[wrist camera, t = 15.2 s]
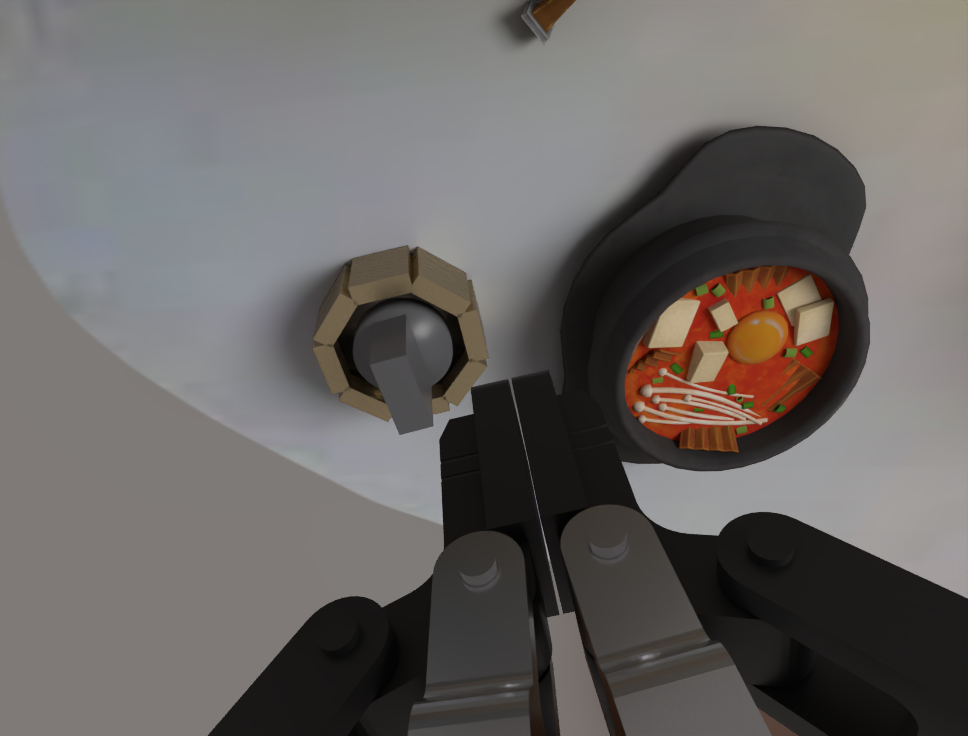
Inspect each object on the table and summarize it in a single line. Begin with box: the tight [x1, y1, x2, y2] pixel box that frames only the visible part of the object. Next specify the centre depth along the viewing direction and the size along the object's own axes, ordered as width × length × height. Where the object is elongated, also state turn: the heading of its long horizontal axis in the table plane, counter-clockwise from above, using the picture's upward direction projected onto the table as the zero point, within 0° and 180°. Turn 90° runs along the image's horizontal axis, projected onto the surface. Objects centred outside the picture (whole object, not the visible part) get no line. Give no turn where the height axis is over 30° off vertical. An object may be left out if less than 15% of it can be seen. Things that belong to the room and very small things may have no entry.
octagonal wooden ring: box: [313, 245, 489, 422], centre depth 42 cm, size 10×10×4 cm
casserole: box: [560, 126, 870, 471], centre depth 42 cm, size 25×19×8 cm
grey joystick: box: [353, 297, 453, 435], centre depth 39 cm, size 6×6×6 cm
